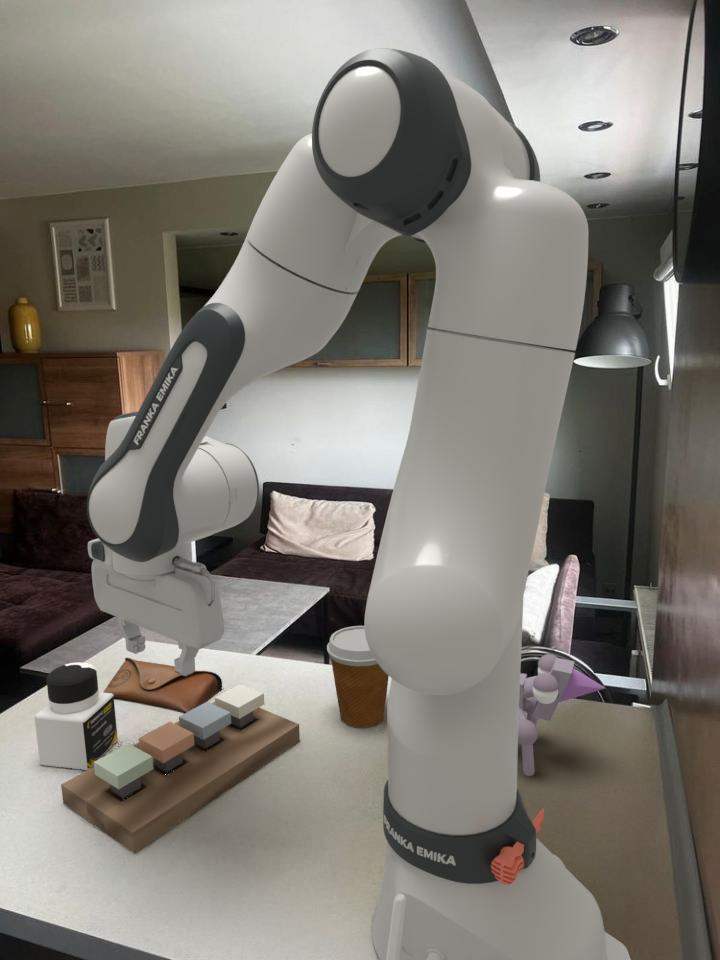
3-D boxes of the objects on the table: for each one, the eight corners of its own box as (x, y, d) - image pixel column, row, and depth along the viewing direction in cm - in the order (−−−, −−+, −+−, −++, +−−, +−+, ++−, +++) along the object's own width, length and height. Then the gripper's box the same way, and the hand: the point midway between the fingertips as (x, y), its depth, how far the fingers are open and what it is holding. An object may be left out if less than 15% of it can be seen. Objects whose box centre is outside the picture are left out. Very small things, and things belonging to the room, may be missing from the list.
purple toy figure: (604, 746, 91) (608, 651, 88) (599, 798, 82) (604, 695, 78) (455, 718, 99) (454, 630, 95) (434, 763, 89) (432, 667, 86)
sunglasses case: (92, 697, 107) (103, 653, 109) (119, 700, 113) (130, 658, 115) (194, 715, 101) (204, 668, 103) (217, 717, 107) (226, 673, 109)
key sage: (154, 786, 81) (152, 756, 80) (120, 807, 77) (117, 776, 77) (131, 772, 84) (128, 743, 83) (96, 791, 80) (93, 762, 79)
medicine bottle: (88, 771, 88) (79, 684, 86) (39, 766, 90) (28, 679, 87) (119, 740, 95) (111, 658, 93) (72, 735, 96) (63, 655, 94)
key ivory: (265, 719, 95) (263, 693, 94) (240, 734, 91) (238, 707, 91) (241, 708, 98) (240, 683, 97) (216, 723, 94) (214, 697, 93)
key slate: (232, 739, 90) (230, 712, 89) (204, 755, 87) (202, 728, 86) (208, 727, 93) (206, 701, 92) (180, 743, 89) (178, 716, 89)
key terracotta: (195, 761, 86) (193, 733, 85) (164, 780, 82) (162, 750, 81) (172, 748, 88) (169, 721, 88) (141, 766, 85) (138, 738, 84)
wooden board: (299, 741, 94) (299, 724, 93) (134, 853, 74) (132, 832, 73) (229, 710, 102) (228, 694, 102) (63, 803, 82) (61, 784, 82)
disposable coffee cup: (315, 715, 100) (312, 637, 98) (364, 693, 106) (362, 619, 104) (360, 742, 93) (358, 659, 91) (409, 716, 100) (408, 637, 97)
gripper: (234, 559, 76) (239, 676, 79) (124, 530, 88) (132, 631, 91) (188, 575, 71) (195, 698, 74) (79, 541, 84) (88, 648, 86)
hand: (159, 661), depth 83 cm, fingers open, 8 cm apart
